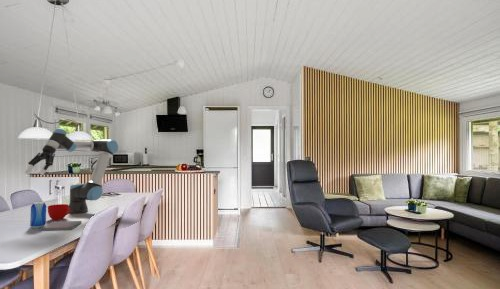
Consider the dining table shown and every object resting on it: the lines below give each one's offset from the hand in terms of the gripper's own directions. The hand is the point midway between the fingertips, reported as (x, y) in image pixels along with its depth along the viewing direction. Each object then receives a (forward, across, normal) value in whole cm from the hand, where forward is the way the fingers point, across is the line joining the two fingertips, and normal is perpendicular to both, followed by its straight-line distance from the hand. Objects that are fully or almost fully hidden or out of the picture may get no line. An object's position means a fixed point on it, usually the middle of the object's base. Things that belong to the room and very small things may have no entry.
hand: (33, 173), depth 197 cm
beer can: (+29, +3, +20) cm, 36 cm away
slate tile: (+26, +16, +26) cm, 40 cm away
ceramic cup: (+18, -4, +38) cm, 42 cm away
